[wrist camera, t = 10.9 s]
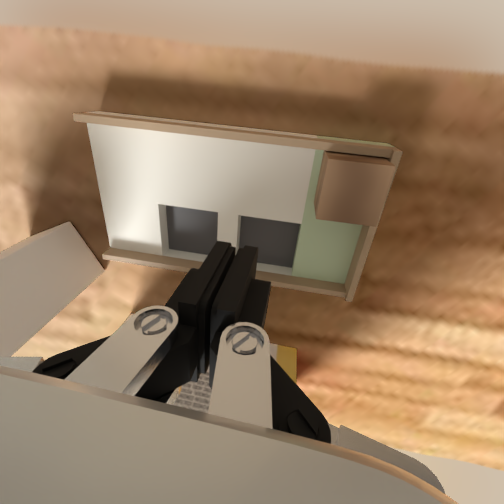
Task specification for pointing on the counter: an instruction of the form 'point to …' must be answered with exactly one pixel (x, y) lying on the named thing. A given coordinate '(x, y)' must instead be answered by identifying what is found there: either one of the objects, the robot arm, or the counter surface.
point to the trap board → (226, 198)
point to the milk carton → (41, 282)
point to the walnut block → (352, 188)
